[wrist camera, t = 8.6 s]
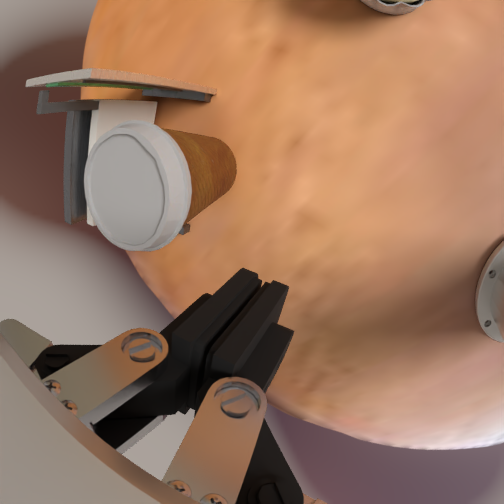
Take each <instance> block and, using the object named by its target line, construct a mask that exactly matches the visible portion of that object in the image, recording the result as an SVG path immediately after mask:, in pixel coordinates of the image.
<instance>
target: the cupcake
mask: <svg viewBox="0 0 504 504" xmlns="http://www.w3.org/2000/svg"><path fill="white" fill-rule="evenodd" d="M360 1H362V2H363V3H364V4H366V5H367V6H369V7H371V8H372V9H374V10H376V11H380V12H383V13H387V14H394V15H398V14H406V13H409V12H412V11H413V10H415V9H416V8H417V7H419V6H421V5H423V3H424V2H426V1H431V0H360Z"/></svg>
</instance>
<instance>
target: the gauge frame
mask: <svg viewBox="0 0 504 504" xmlns="http://www.w3.org/2000/svg"><path fill="white" fill-rule="evenodd" d="M33 86H46V87H62V86H63V87H67V86H82V87H113V88H128V89H143V93H142V95H144V96H158V97H170V98H181V99H190V100H199V101H207V102H210V100H211V95H212V94H213V95H216V93H217V89H215V88H211V87H207V86H203V85H198V84H194V83H189V82H184V81H180V80H175V79H169V78H164V77H158V76H152V75H146V74H140V73H133V72H125V71H117V70H107V69H96V68H89V69H82V70H75V71H68V72H62V73H57V74H52V75H47V76H42V77H37V78H33V79H29V80H27V81H26V87H33ZM94 100H113V99H89V100H69V102H70V101H94ZM138 101H142V100H138ZM91 117H92V110H81V111H67V122H66V133H65V150H64V213H65V222H67V223H69V224H71V225H72V224H74V223H77V222H79V221H82V220H85V219H87V201H86V197H85V189H84V173H85V166H86V162H87V158H88V150H89V137H90V127H91ZM189 230H190V225H189V224H187V223H186V224H184V225H183V226H182V228H181V230H180V231H179V233H180V234H182V235H184V234H186V233H187V232H189Z"/></svg>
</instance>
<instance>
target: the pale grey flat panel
mask: <svg viewBox="0 0 504 504" xmlns="http://www.w3.org/2000/svg"><path fill="white" fill-rule="evenodd" d="M48 96H49V90H46V91H40V92H39V100H38V105H37V114H44V113H55V112H66V111H81V110H92V117H91V127H90V137H89V150H88V155H89V153H90V151H91V149H92V147H93V145H94V144H95V143H96V141H97V140H98V139H99V138H100V137H101V136H102V135H103V134H105V133H106V132H108V131H110V130H112V129H113V128H114V127H115V126H117V125H119V124H121V123H123V122H126V121H130V120H141V121H147V122H149V123H152V124H154V120H155V114H156V108H157V102H154V101H138V100H94V101H70V102H54V103H48ZM87 224H89V225H91V226H95V225H96V223H95V221H94V220H93V218H92V216H91V214H90V211H89V208H88V205H87Z"/></svg>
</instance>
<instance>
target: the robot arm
mask: <svg viewBox="0 0 504 504" xmlns="http://www.w3.org/2000/svg"><path fill="white" fill-rule="evenodd" d="M261 284H262V280H260V279H258V274H257V273H254V272H252V271H249V270H247V269H245V268H242V269H240V270H239V271H238V272H237V273H236V274H235V275H234V276H233V277H232V278H231V279H229V280H228V281H227V282H226V283H225V284H224V285H223V286H222V287H221V288H220V289H219V290H218V291H217V292H215V293H214V294H213V295H210V294H208V293H205V294H203V295H202V296H201V297H200V298H199V299H197V300H196V301H195V302H194V303H193V304H192V305H191V306H189V307H188V308H187V309H186V310H185V311H184V312H183V313H182V314H180V315H179V316H178V317H177V318H176V319H175V320H174V321H173V322H171V323H170V324H169V325H168V326H167V327H166V328H165V329H163V330H162V331H161V332H160V333H157V332H156V331H154V330H150V329H145V328H137V329H131V330H129V331H126V332H124V333H122V334H121V335H119V336H117V337H115V338H114V339H112V340H110V341H109V342H107V343H105V344H104V345H53V344H52V341H50V340H48V339H46V338H45V337H43V336H41V335H39V334H38V333H36V332H35V331H33V330H31V329H30V328H28V327H26V326H25V325H24V324H22V323H20V322H19V321H17V320H14V319H6V320H3V321H1V322H0V504H327V503H325V502H323V501H321V500H320V499H316V500H314V499H312V498H310V497H309V496H307V495H305V494H303V493H302V490H301V488H300V486H299V484H298V483H297V480H296V479H295V477H294V475H293V473H292V471H291V469H290V467H289V465H288V464H287V462H286V460H285V458H284V456H283V454H282V452H281V451H280V448H279V447H278V444H277V443H276V441H275V439H274V437H273V435H272V433H271V431H270V429H269V427H268V425H267V423H266V421H265V419H264V416H265V413H266V409H267V399H266V395H265V393H266V391H267V389H268V387H269V385H270V383H271V381H272V380H273V378H274V376H275V374H276V372H277V370H278V368H279V366H280V364H281V362H282V360H283V358H284V355H285V353H286V351H287V349H288V346H289V344H290V341H291V339H292V336H293V334H294V331H293V330H291V329H288V328H286V327H283V326H281V325H279V324H277V322H278V320H279V317H280V314H281V311H282V308H283V305H284V302H285V299H286V296H287V292H288V289H289V286H287V285H284V284H282V283H279V282H277V281H274V280H273V281H272V282H271V284H270V283H268V282H265V283H264V285H263V286H262V287H261ZM475 307H476V314H477V317H478V320H479V323H480V325H481V327H482V329H483V330H484V332H485V333H486V334H487V335H488V336H489V337H490V338H492V339H493V340H496V341H498V342H503V343H504V240H503V241H502V243H501V244H500V245H499V246H498V247H497V248H496V249H495V250H494V252H493V253H492V254H491V256H490V257H489V259H488V260H487V262H486V264H485V266H484V268H483V270H482V272H481V275H480V278H479V281H478V285H477V289H476V296H475ZM190 408H192V409H194V410H195V416H194V420H193V422H192V424H191V426H190V427H189V429H188V431H187V433H186V435H185V437H184V439H183V441H182V443H181V445H180V447H179V449H178V451H177V453H176V455H175V456H174V458H173V460H172V462H171V464H170V466H169V468H168V470H167V472H166V474H165V476H164V478H163V479H162V481H160V480H158V479H157V478H155V477H154V476H152V475H151V474H149V473H147V472H146V471H144V470H143V469H141V468H140V467H138V466H137V465H136V464H134V463H133V462H131V461H130V460H128V459H127V458H126V457H124V456H123V455H122V454H123V453H124V452H125V451H127V450H128V449H129V448H130V447H132V446H133V445H134V444H135V443H137V442H138V441H139V440H140V439H142V438H143V437H144V436H145V435H147V434H148V433H149V432H150V431H152V430H153V429H154V428H155V427H156V426H158V425H159V424H160V423H161V422H162V421H163V420H164V419H165V418H166V417H167V415H172V414H176V412H177V411H180V412H181V413H183V414H186V413H187V412H188V410H189V409H190Z"/></svg>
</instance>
